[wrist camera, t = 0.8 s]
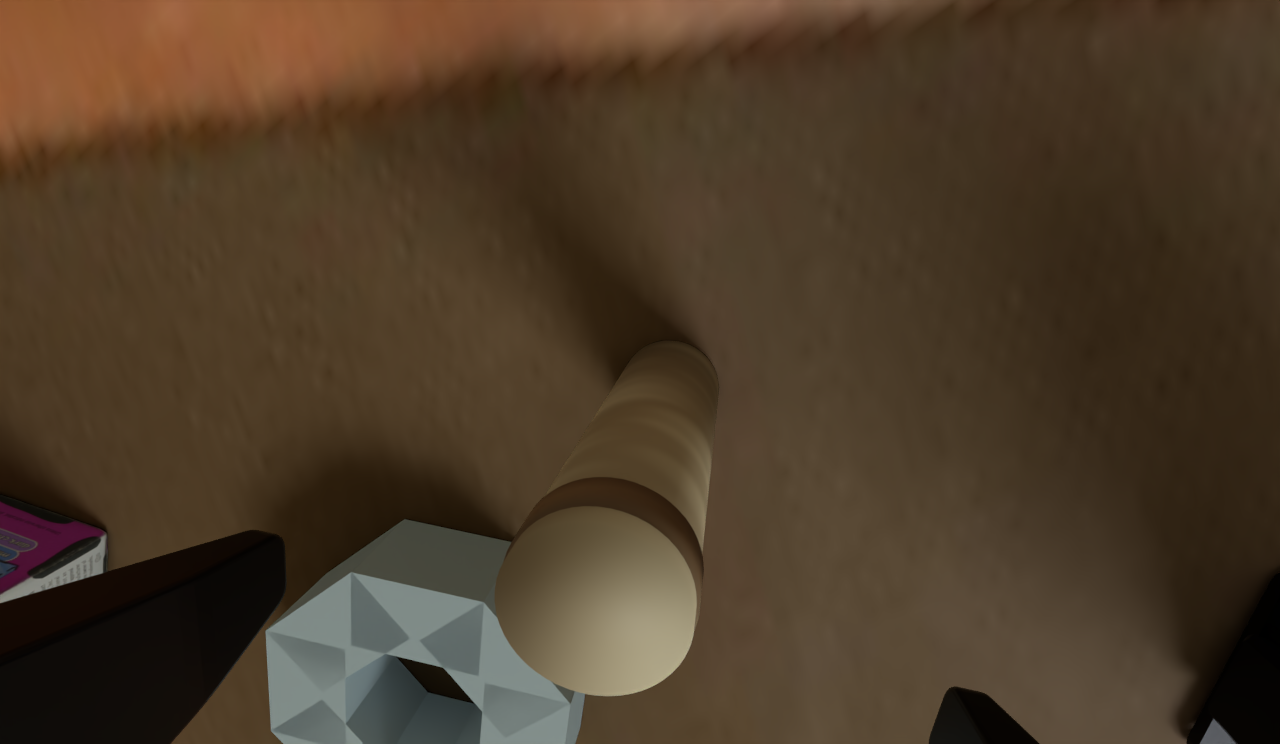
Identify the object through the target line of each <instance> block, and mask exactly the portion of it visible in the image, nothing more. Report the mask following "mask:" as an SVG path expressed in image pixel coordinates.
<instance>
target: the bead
mask: <svg viewBox="0 0 1280 744" xmlns="http://www.w3.org/2000/svg"><path fill="white" fill-rule="evenodd" d="M510 544H511V542H509V541H504V540H500V539H495V538H490V537H486V536H481V535H476V534H472V533H467V532H462V531H458V530H453V529H448V528H444V527H439V526H434V525H430V524H425V523H420V522H416V521H411V520H406V519H404V520H403V521H401V522H400V523H398V524H397V525H395V526H394V527H393V528H391V529H390V530H388V531H387V532H385V533H384V534H383V535H381V536H380V537H378V538H377V539H375V540H374V541H372V542H371V543H370V544H368V545H367V546H365V547H364V548H362V549H361V550H359V551H358V552H357V553H355V554H354V555H352V556H351V557H349V558H348V559H347V560H345V561H344V562H342V563H341V564H339V565H338V566H336V567H335V568H334V569H332V570H331V571H329V572H328V573H326V574H325V575H324V576H323V577H322V578H321V579H320V580H319V581H318V582H317V583H316V584H315V585H314V586H312V587H311V588H310V589H309V590H308V591H307V592H306V593H305V594H304V595H303V596H302V597H301V598H300V599H299V600H298V601H297V602H295V603H294V604H293V605H292V606H291V607H290V608H289V609H288V610H287V611H286V612H285V613H284V614H283V615H282V616H281V617H279V618H278V619H277V620H276V621H275V622H274V623H273V624H272V625H271V626H270V627H269V628H268V629H267V630H266V645H267V664H268V682H269V700H270V719H271V731H272V732H273V733H274V734H275V735H276V736H277V738H278V739H279V740H280V741H281V742H282V743H283V744H575V743H576V739H577V736H578V733H579V729H580V726H581V718H582V711H583V704H584V697H585V694H584V693H580V692H576V691H573V690H569V689H567V688H564V687H562V686H559V685H557V684H555V683H553V682H551V681H550V680H548V679H546V678H544V677H543V676H541V675H540V674H538V673H537V672H535V671H534V670H533V669H532V668H531V667H529V666H528V665H527V664H526V663H525V662H524V661H523V660H522V659H521V658H520V657H519V656H518V655H517V653H516V652H515V651H514V650H513V648H512V647H511V646H510V644H509V642H508V641H507V639H506V637H505V636H504V634H503V631H502V629H501V627H500V624H499V621H498V618H497V614H496V609H495V585H496V579H497V576H498V573H499V570H500V568H501V566H502V564H503V561H504V558H505V555H506V552H507V550H508V548H509V546H510ZM396 656H397V657H401V658H405V659H409V660H413V661H418V662H422V663H426V664H430V665H434V666H438V667H443V668H444V669H445V670H446V671H447V672H448V674H449V675H450V676H451V677H452V678H453V679H454V680H455V681H456V683H457V684H458V685H459V686H460V687H461V688H462V689H463V691H464V692H465V693H466V694H467V695H468V696H469V697H470V698H471V700H472V701H473V702H474V703H475V704H473V703H469V702H465V701H461V700H457V699H453V698H449V697H445V696H441V695H436V694H432V693H428V692H427V691H426V690H425V689H424V687H423V686H422V685H421V684H420V683H419V682H418V681H417V680H416V678H415V677H414V676H413V675H412V674H411V673H410V672H409V671H408V670H407V668H406V667H405V666H404V665H403V664H402V663H401V662H400V661H399V659H398V658H397V657H396Z"/></svg>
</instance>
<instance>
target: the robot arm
mask: <svg viewBox="0 0 1280 744" xmlns="http://www.w3.org/2000/svg"><path fill="white" fill-rule="evenodd" d="M285 590H286V561H285V544H284V541H283V539H282V538H281V537H280V536H279V535H277V534H272V533H268V532H263V531H259V530H249V531H245V532H242V533H238V534H235V535H231V536H228V537H224V538H221V539H218V540H214V541H211V542H207V543H204V544H200V545H197V546H194V547H190V548H187V549H183V550H180V551H177V552H173V553H170V554H166V555H163V556H159V557H156V558H153V559H149V560H146V561H142V562H139V563H135V564H132V565H129V566H125V567H122V568H118V569H115V570H112V571H108V572H105V573H101V574H98V575H94V576H91V577H88V578H84V579H81V580H77V581H74V582H70V583H67V584H64V585H60V586H57V587H53V588H50V589H47V590H43V591H40V592H36V593H33V594H29V595H26V596H23V597H19V598H16V599H12V600H9V601H5V602H2V603H0V744H171V743H172V741H173V740H174V739H175V738H176V737H177V736H178V735H179V733H180V732H181V731H182V730H183V729H184V728H185V727H186V726H187V724H188V723H189V722H190V721H191V720H192V719H193V717H194V716H195V715H196V714H197V713H198V712H199V710H200V709H201V708H202V707H203V706H204V704H205V703H206V702H207V701H208V699H209V698H210V697H211V696H212V694H213V693H214V692H215V690H216V689H217V688H218V687H219V685H220V684H221V683H222V681H223V680H224V679H225V677H226V676H227V674H228V673H229V672H230V670H231V669H232V668H233V666H234V665H235V664H236V662H237V661H238V660H239V658H240V657H241V655H242V654H243V653H244V651H245V650H246V649H247V647H248V646H249V645H250V643H251V642H252V641H253V639H254V638H255V636H256V635H257V634H258V632H259V631H260V630H261V628H262V627H263V626H264V624H265V623H266V622H267V620H268V619H269V617H270V616H271V615H272V613H273V612H274V611H275V609H276V608H277V607H278V605H279V604H280V602H281V600H282V598H283V596H284V593H285ZM929 744H1039V743H1038V742H1037V741H1036V740H1035V739H1034V738H1033V737H1032V736H1031V735H1030V734H1029V733H1028V732H1027V731H1026V730H1024V729H1023V728H1022V727H1021V726H1020V725H1019V724H1018V723H1017V722H1016V721H1015V720H1014V719H1013V718H1012V717H1011V716H1010V715H1009V714H1008V713H1006V712H1005V711H1004V710H1003V709H1002V708H1001V707H1000V706H999V705H998V704H997V703H996V702H995V701H994V700H993V699H992V698H990V697H989V696H988V695H986V694H985V693H982V692H978V691H974V690H969V689H965V688H960V687H951V688H949V689H948V690H947V692H946V693H945V695H944V698H943V701H942V704H941V706H940V709H939V712H938V715H937V717H936V720H935V723H934V726H933V729H932V731H931V734H930V738H929ZM1187 744H1280V573H1278V574H1276V575H1275V576H1274V578H1273V579H1272V580H1271V581H1270V583H1269V585H1268V587H1267V589H1266V591H1265V593H1264V595H1263V596H1262V598H1261V600H1260V602H1259V604H1258V606H1257V608H1256V610H1255V612H1254V613H1253V615H1252V617H1251V619H1250V621H1249V623H1248V625H1247V627H1246V629H1245V630H1244V632H1243V634H1242V636H1241V638H1240V640H1239V642H1238V644H1237V645H1236V647H1235V649H1234V651H1233V653H1232V655H1231V657H1230V659H1229V661H1228V662H1227V664H1226V666H1225V668H1224V670H1223V672H1222V674H1221V676H1220V677H1219V679H1218V681H1217V683H1216V685H1215V687H1214V689H1213V691H1212V693H1211V694H1210V696H1209V698H1208V700H1207V702H1206V704H1205V706H1204V708H1203V710H1202V711H1201V713H1200V715H1199V717H1198V719H1197V721H1196V723H1195V725H1194V726H1193V728H1192V730H1191V732H1190V734H1189V736H1188V738H1187Z"/></svg>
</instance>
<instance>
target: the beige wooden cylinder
mask: <svg viewBox="0 0 1280 744" xmlns="http://www.w3.org/2000/svg"><path fill="white" fill-rule="evenodd" d="M718 395H719V382H718V377H717V374H716V371H715V369H714V367H713V365H712V363H711V362H710V360H709V359H708V358H707V357H706V356H705V355H704V354H703V353H702V352H701V351H699V350H698V349H697V348H695V347H693V346H691V345H689V344H686V343H684V342H679V341H672V340H665V341H658V342H655V343H652V344H649V345H647V346H645V347H644V348H642V349H640V350H639V351H638V352H637V353H636V354H635V355H634V356H633V357H632V358H631V360H630V361H629V362H628V364H627V366H626V367H625V369H624V370H623V372H622V374H621V375H620V377H619V378H618V380H617V382H616V383H615V385H614V386H613V388H612V390H611V391H610V393H609V394H608V396H607V397H606V399H605V401H604V402H603V404H602V405H601V407H600V409H599V410H598V412H597V413H596V415H595V417H594V418H593V420H592V421H591V423H590V425H589V426H588V428H587V429H586V431H585V432H584V434H583V436H582V437H581V439H580V440H579V442H578V444H577V445H576V447H575V448H574V450H573V452H572V453H571V455H570V456H569V458H568V460H567V461H566V463H565V464H564V466H563V467H562V469H561V471H560V472H559V474H558V475H557V477H556V479H555V480H554V482H553V483H552V485H551V487H550V488H549V490H548V491H547V493H546V495H545V496H544V497H543V498H542V499H541V500H540V501H539V502H538V503H537V504H536V506H535V507H534V508H533V510H532V511H531V512H530V514H529V515H528V517H527V519H526V520H525V522H524V523H523V525H522V526H521V528H520V530H519V531H518V533H517V534H516V536H515V537H514V539H513V540H512V542H511V544H510V546H509V548H508V550H507V552H506V555H505V558H504V561H503V564H502V566H501V568H500V570H499V573H498V576H497V579H496V585H495V609H496V614H497V618H498V621H499V624H500V627H501V629H502V631H503V634H504V636H505V637H506V639H507V641H508V642H509V644H510V646H511V647H512V648H513V650H514V651H515V652H516V653H517V655H518V656H519V657H520V658H521V659H522V660H523V661H524V662H525V663H526V664H527V665H528V666H529V667H531V668H532V669H533V670H534V671H535V672H537V673H538V674H540V675H541V676H543V677H544V678H546V679H548V680H550V681H551V682H553V683H555V684H557V685H559V686H562V687H564V688H567V689H569V690H573V691H576V692H580V693H584V694H590V695H597V696H620V695H627V694H632V693H636V692H639V691H643V690H645V689H647V688H650V687H652V686H654V685H656V684H658V683H659V682H661V681H663V680H664V679H665V678H667V677H668V676H669V675H670V674H672V673H673V671H674V670H675V669H676V668H677V667H678V666H679V665H680V664H681V662H682V661H683V659H684V658H685V656H686V654H687V652H688V650H689V648H690V646H691V642H692V639H693V635H694V630H695V628H696V625H697V622H698V618H699V612H700V604H701V593H702V583H703V572H704V569H703V556H702V550H703V540H704V530H705V521H706V511H707V501H708V492H709V482H710V472H711V463H712V453H713V443H714V434H715V424H716V414H717V405H718Z"/></svg>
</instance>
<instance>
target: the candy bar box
mask: <svg viewBox="0 0 1280 744" xmlns="http://www.w3.org/2000/svg"><path fill="white" fill-rule="evenodd" d="M107 557H108V550H107V533H106V532H104V531H103V530H101V529H100V528H97V527H94V526H91V525H88V524H85V523H82V522H79V521H77V520H74V519H71V518H68V517H65V516H62V515H59V514H56V513H53V512H51V511H48V510H45V509H42V508H39V507H35V506H32V505H29V504H26V503H24V502H21V501H18V500H15V499H12V498H9V497H6V496H3V495H0V603H2V602H5V601H9V600H12V599H16V598H19V597H23V596H26V595H29V594H33V593H36V592H40V591H43V590H47V589H50V588H53V587H57V586H60V585H64V584H67V583H70V582H74V581H77V580H81V579H84V578H88V577H91V576H94V575H98V574H101V573H105V572H107Z"/></svg>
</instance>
